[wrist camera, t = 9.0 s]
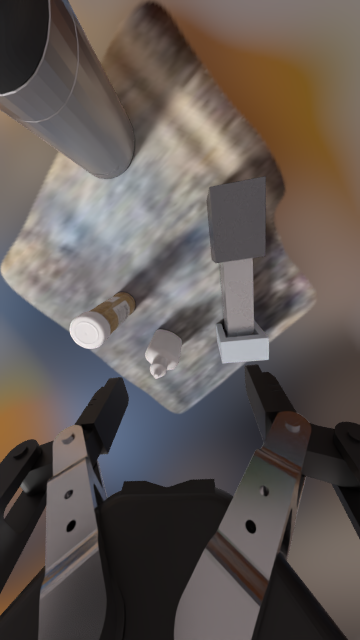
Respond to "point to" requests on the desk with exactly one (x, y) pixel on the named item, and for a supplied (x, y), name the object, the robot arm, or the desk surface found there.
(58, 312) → the desk surface
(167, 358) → the eye dropper bottle
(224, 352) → the socket block
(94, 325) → the sprinkles bottle
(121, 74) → the desk surface
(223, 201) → the sleeve
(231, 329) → the grey square post
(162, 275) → the desk surface
